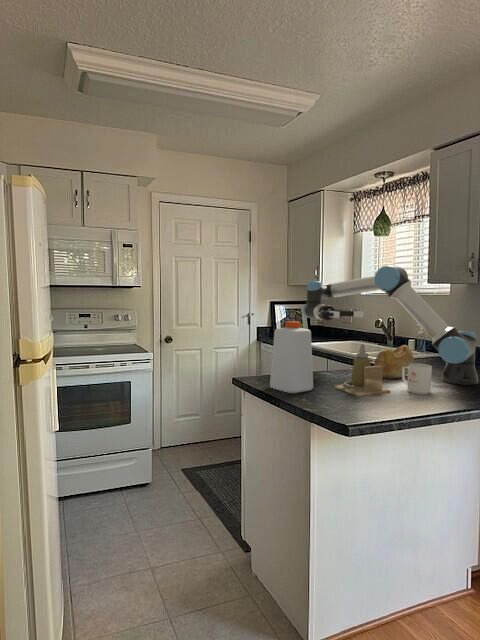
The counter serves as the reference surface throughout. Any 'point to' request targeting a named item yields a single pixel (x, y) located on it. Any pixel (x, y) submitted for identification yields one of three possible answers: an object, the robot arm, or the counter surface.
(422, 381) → the mug
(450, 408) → the counter surface
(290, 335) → the plastic bottle
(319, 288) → the robot arm
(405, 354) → the rough brown rock
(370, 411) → the counter surface
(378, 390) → the cup bracket
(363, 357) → the squeeze bottle
